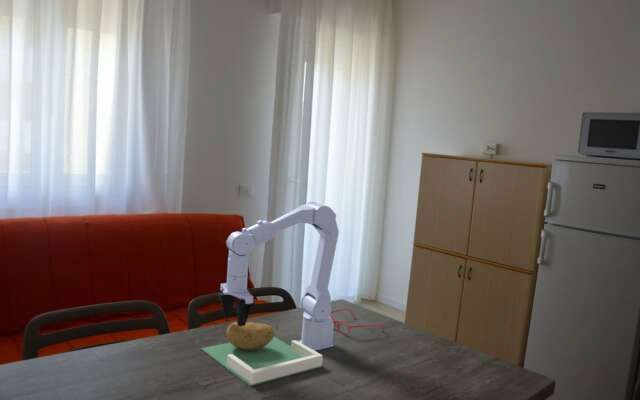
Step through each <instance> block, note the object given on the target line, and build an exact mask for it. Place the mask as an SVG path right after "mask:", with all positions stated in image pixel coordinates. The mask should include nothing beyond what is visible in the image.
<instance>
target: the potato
mask: <svg viewBox="0 0 640 400" xmlns="http://www.w3.org/2000/svg"><path fill="white" fill-rule="evenodd" d="M225 331H226V332H225V333H226V337H227V339H228V342H229V343H231V344H232V345H233V346H235V347H236V348H239V349H241V350H245V351H253V350H257V349H259V348H262V347H264V346H266V345H267V344H268V343H269V342H270V341H271V340H272V339H273V337H275V334H276V333H275V331H274V328H273V326H271V325H270V324H269V325H268V324H267V323H259V322H251V321H246V324H245V325H244V326H238V323H237V321H233V322H231V323H230V324H229V325H228V326H227V328H226V330H225Z"/></svg>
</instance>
